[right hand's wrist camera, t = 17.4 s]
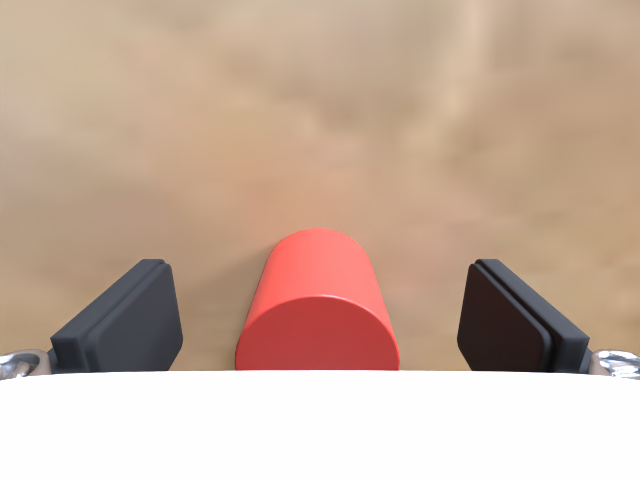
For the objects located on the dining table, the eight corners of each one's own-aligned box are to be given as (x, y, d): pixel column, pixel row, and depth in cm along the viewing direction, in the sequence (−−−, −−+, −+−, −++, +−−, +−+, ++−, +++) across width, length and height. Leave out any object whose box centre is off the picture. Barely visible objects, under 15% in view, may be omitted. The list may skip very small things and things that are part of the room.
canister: (246, 248, 12) (206, 325, 8) (353, 212, 12) (373, 272, 7) (287, 337, 13) (271, 445, 9) (385, 308, 13) (418, 406, 9)
